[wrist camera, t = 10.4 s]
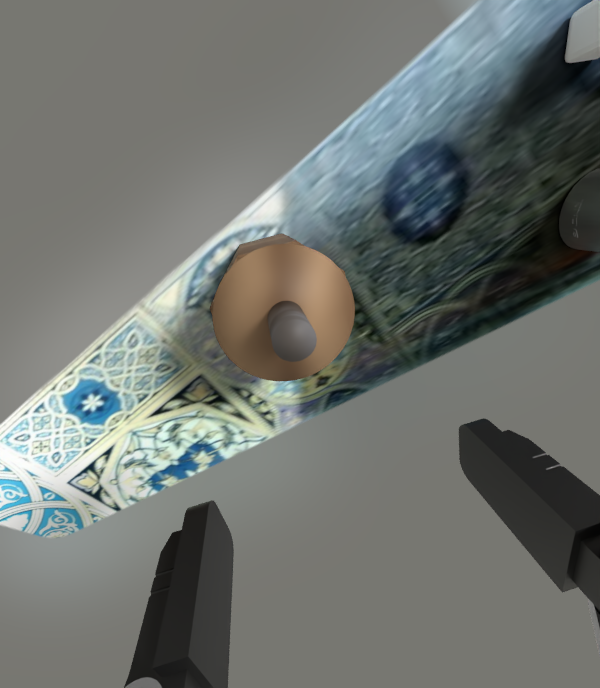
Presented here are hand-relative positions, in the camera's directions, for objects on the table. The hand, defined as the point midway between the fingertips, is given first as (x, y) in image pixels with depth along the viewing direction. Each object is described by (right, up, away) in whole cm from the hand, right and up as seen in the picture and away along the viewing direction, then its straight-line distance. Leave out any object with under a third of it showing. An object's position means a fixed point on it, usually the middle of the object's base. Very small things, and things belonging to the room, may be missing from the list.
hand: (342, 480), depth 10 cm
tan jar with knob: (-4, +11, +25) cm, 28 cm away
